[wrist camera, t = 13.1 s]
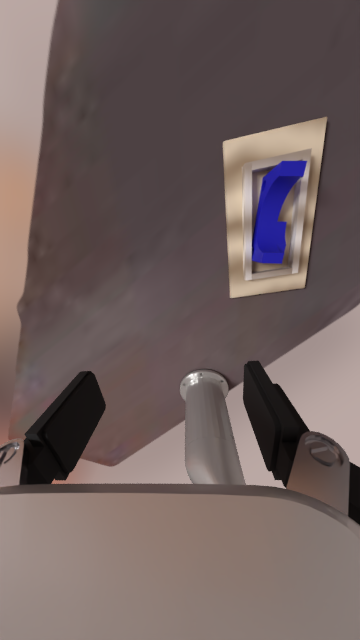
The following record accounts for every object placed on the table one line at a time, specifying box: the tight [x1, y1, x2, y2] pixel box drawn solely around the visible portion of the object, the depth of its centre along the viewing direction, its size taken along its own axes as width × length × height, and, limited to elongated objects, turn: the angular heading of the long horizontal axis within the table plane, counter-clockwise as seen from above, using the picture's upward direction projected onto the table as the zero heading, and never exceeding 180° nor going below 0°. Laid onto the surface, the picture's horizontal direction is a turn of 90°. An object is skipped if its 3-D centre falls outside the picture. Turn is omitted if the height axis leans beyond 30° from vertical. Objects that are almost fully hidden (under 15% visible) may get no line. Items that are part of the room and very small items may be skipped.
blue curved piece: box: [252, 161, 307, 264], centre depth 26 cm, size 12×4×6 cm, turn 179°
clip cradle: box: [223, 117, 327, 298], centre depth 29 cm, size 24×14×2 cm, turn 9°
